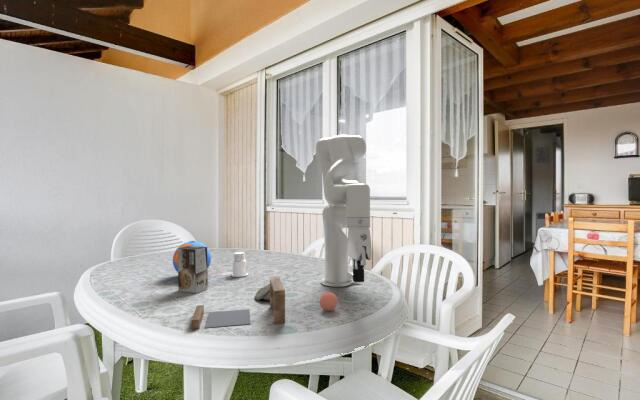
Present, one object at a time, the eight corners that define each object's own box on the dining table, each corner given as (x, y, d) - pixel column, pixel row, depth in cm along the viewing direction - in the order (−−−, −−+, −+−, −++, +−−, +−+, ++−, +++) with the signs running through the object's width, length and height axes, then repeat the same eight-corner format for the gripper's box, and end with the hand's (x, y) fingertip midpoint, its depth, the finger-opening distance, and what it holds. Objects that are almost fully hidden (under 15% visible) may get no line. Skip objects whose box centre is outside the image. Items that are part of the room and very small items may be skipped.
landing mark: (249, 309, 107) (249, 309, 107) (250, 324, 96) (250, 323, 96) (209, 312, 105) (209, 312, 105) (205, 328, 93) (205, 327, 93)
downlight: (252, 274, 152) (251, 252, 152) (240, 278, 146) (239, 254, 146) (239, 273, 157) (238, 251, 157) (227, 276, 151) (226, 253, 151)
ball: (334, 306, 110) (334, 289, 110) (339, 312, 105) (339, 294, 105) (317, 308, 109) (317, 290, 109) (321, 314, 104) (321, 295, 103)
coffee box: (208, 289, 130) (208, 246, 130) (195, 293, 124) (195, 249, 124) (190, 286, 134) (190, 245, 134) (177, 290, 128) (176, 247, 128)
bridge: (279, 306, 111) (279, 277, 111) (285, 323, 97) (285, 290, 96) (269, 306, 110) (269, 278, 110) (274, 324, 96) (274, 290, 96)
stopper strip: (203, 313, 104) (203, 305, 104) (199, 328, 93) (199, 319, 93) (196, 313, 104) (196, 305, 104) (191, 329, 92) (191, 320, 92)
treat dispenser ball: (217, 273, 155) (217, 239, 154) (198, 282, 140) (197, 244, 139) (187, 271, 158) (186, 238, 158) (164, 280, 143) (164, 243, 143)
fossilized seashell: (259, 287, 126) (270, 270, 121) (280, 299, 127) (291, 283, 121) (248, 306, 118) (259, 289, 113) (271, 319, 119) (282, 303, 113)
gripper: (378, 224, 102) (379, 286, 102) (361, 221, 116) (361, 276, 116) (354, 224, 100) (354, 288, 100) (339, 222, 115) (340, 277, 114)
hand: (358, 281), depth 108 cm, fingers closed
